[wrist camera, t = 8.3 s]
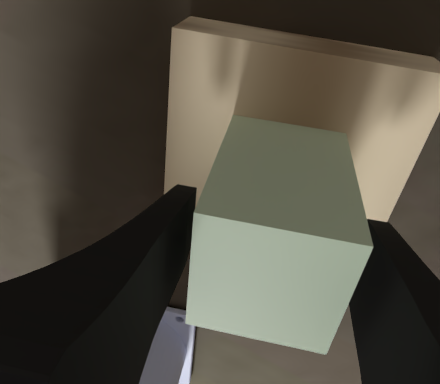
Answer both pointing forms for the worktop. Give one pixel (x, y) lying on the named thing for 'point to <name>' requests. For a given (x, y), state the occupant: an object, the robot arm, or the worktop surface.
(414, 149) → the birch block
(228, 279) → the green block
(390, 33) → the worktop surface
